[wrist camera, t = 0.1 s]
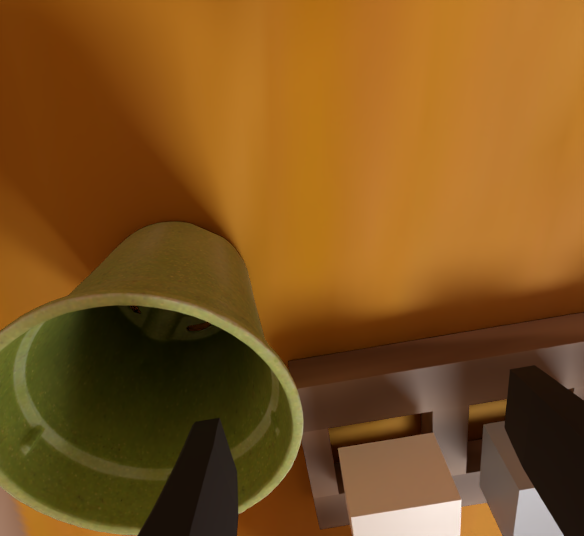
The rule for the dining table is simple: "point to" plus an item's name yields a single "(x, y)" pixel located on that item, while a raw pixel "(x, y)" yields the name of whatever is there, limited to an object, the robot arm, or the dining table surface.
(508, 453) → the slate key
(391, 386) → the brown flat board
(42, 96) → the dining table surface
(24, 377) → the plant pot
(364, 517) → the ivory key
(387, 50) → the dining table surface
